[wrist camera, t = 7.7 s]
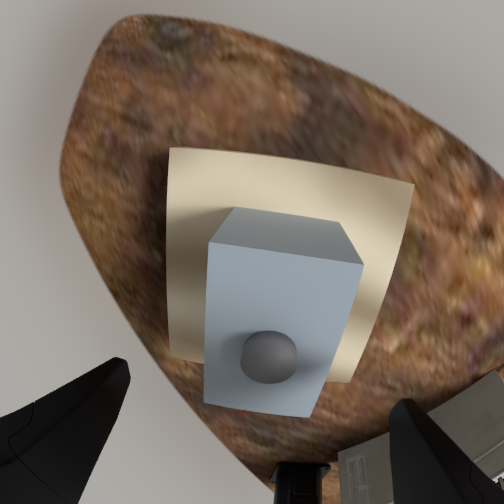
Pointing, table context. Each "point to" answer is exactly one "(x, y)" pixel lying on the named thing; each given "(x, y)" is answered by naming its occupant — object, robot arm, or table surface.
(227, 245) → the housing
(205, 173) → the stand
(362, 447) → the geiger counter
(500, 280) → the table surface
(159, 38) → the table surface
